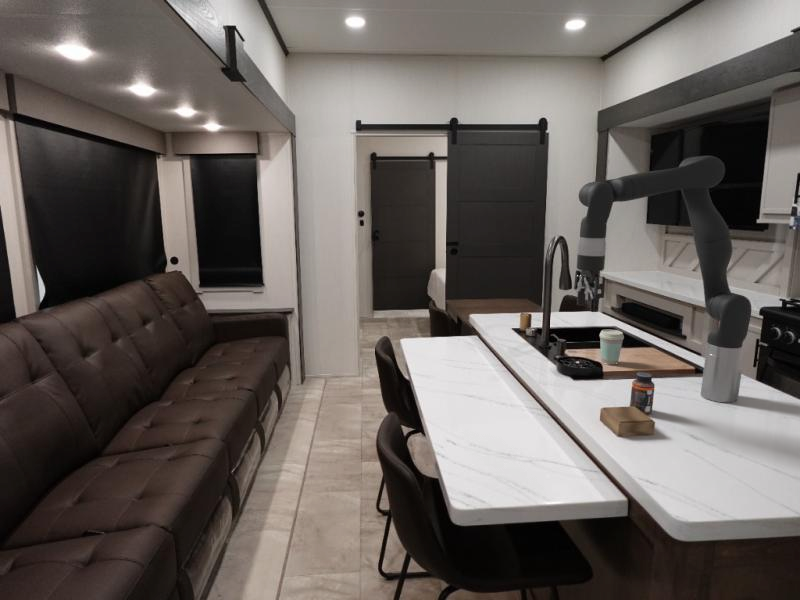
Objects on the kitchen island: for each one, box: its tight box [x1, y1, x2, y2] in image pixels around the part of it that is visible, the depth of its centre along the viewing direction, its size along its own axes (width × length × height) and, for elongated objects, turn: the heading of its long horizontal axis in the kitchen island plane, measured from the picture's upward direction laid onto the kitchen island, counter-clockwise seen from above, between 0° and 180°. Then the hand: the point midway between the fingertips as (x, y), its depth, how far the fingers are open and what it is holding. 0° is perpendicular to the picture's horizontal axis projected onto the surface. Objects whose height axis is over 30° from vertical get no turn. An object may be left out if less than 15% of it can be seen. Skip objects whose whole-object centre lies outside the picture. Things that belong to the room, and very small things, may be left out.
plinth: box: [599, 405, 656, 437], centre depth 144 cm, size 10×10×4 cm
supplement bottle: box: [629, 372, 656, 416], centre depth 154 cm, size 6×6×11 cm
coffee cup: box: [599, 329, 625, 364], centre depth 199 cm, size 8×8×12 cm
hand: (587, 308), depth 156 cm, fingers open, 8 cm apart
